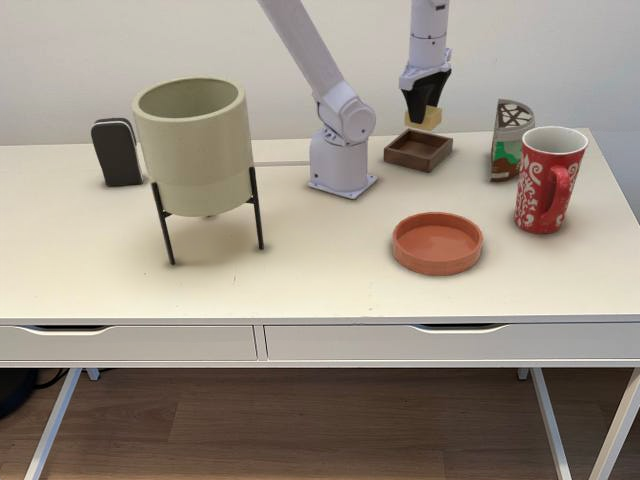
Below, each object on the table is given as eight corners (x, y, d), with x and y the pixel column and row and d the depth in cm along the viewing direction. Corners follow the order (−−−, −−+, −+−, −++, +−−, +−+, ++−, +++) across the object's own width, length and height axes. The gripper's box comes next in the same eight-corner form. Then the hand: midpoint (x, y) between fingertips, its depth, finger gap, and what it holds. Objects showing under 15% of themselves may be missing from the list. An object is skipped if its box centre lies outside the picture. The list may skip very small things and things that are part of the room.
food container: (528, 188, 110) (539, 130, 103) (490, 186, 111) (499, 129, 104) (525, 153, 119) (535, 98, 112) (490, 152, 120) (498, 97, 113)
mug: (503, 206, 106) (517, 125, 97) (561, 205, 105) (581, 124, 96) (514, 251, 97) (531, 167, 88) (578, 251, 96) (601, 166, 87)
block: (404, 125, 113) (404, 111, 112) (415, 116, 116) (416, 102, 114) (430, 131, 111) (431, 117, 109) (441, 122, 113) (442, 108, 112)
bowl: (376, 258, 98) (376, 244, 96) (417, 217, 105) (418, 203, 104) (457, 285, 92) (459, 271, 90) (494, 240, 100) (496, 226, 98)
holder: (383, 161, 120) (383, 148, 118) (407, 140, 125) (408, 128, 123) (429, 173, 115) (430, 159, 114) (452, 151, 121) (453, 138, 119)
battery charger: (146, 174, 121) (131, 113, 113) (143, 184, 118) (128, 123, 110) (108, 177, 121) (91, 116, 113) (104, 187, 118) (86, 126, 111)
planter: (253, 207, 110) (236, 66, 95) (270, 260, 99) (253, 110, 83) (163, 222, 109) (129, 81, 93) (169, 278, 97) (132, 128, 81)
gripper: (429, 51, 97) (423, 139, 107) (471, 22, 105) (462, 105, 115) (388, 44, 100) (385, 130, 110) (432, 16, 109) (426, 98, 118)
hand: (422, 117), depth 112 cm, fingers closed on block, 4 cm apart
